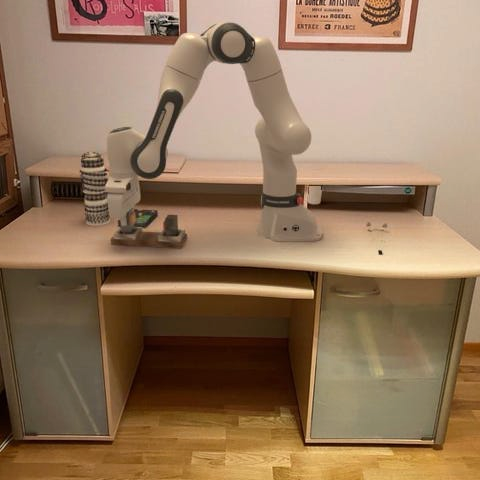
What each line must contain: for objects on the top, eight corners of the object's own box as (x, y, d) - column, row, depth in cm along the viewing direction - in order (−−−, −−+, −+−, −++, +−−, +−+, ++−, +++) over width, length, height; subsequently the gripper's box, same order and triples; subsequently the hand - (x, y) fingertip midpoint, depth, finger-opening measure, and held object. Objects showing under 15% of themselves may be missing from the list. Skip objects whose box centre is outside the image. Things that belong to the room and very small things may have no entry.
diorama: (388, 228, 171) (389, 219, 170) (396, 257, 147) (397, 246, 146) (361, 227, 173) (362, 217, 172) (365, 254, 148) (366, 244, 147)
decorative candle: (111, 225, 170) (105, 155, 161) (84, 226, 168) (76, 156, 159) (111, 217, 178) (105, 150, 169) (85, 218, 176) (78, 151, 167)
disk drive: (131, 215, 182) (117, 227, 169) (131, 208, 181) (117, 220, 168) (158, 217, 181) (146, 229, 167) (157, 209, 180) (146, 221, 166)
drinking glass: (305, 200, 203) (308, 165, 197) (321, 201, 202) (324, 166, 197) (305, 205, 196) (308, 169, 191) (322, 205, 196) (325, 169, 190)
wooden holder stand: (187, 239, 158) (186, 213, 154) (181, 248, 150) (181, 221, 147) (119, 235, 160) (117, 210, 157) (111, 244, 152) (108, 217, 149)
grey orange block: (121, 231, 152) (119, 210, 150) (125, 227, 156) (123, 207, 154) (132, 232, 152) (131, 211, 150) (136, 228, 156) (135, 207, 153)
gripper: (125, 172, 158) (128, 212, 163) (102, 188, 139) (106, 232, 144) (143, 173, 158) (146, 213, 163) (123, 189, 139) (126, 233, 144)
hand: (127, 222), depth 153 cm, fingers closed on grey orange block, 4 cm apart
